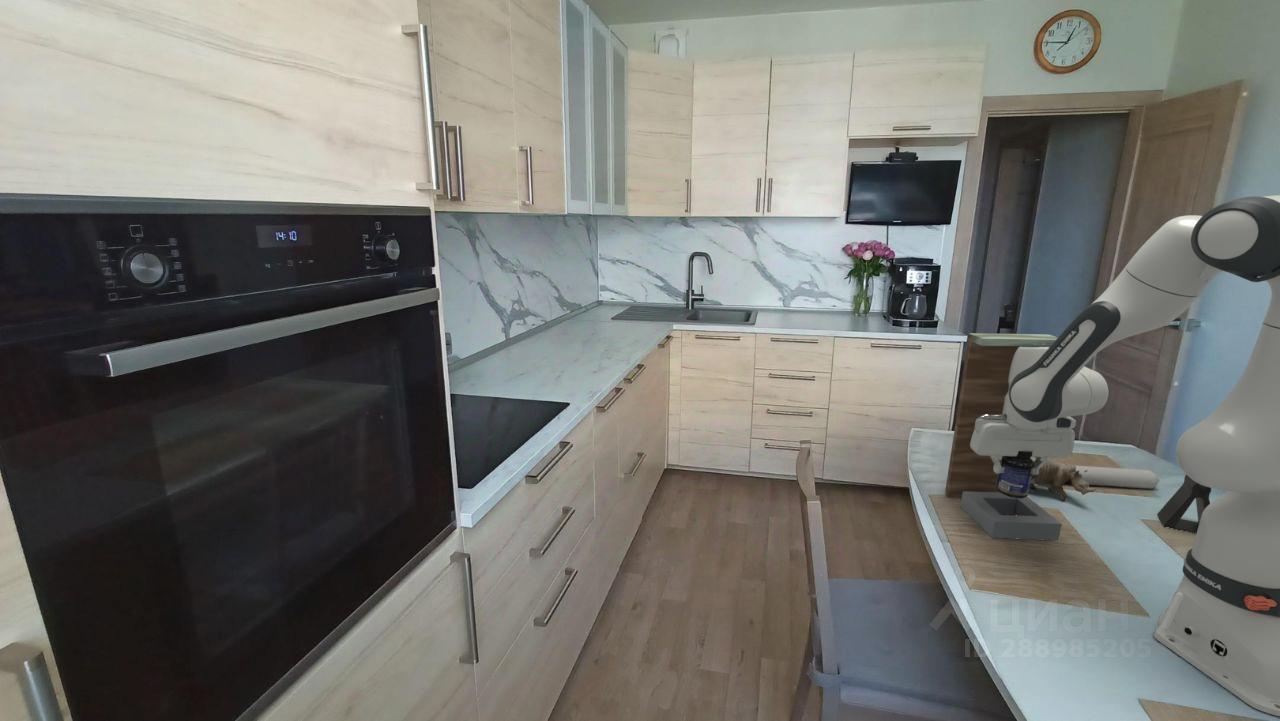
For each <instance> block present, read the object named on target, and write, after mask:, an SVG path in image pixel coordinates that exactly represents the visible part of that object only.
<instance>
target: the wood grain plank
mask: <svg viewBox="0 0 1280 721" xmlns="http://www.w3.org/2000/svg"><path fill="white" fill-rule="evenodd" d="M1058 337H1059V336H1058ZM1058 337H1057V336H1054V335H1052V334H1041V333H1040V334H1039V333H1038V334H1037V333H1032V334H1031V333H1030V334H1029V333H976V332H974V333H971V332H969V333H968V339H967V344H966V352H965V356H964V358H965V359H964V365H963V371H962V377H961V386H960V391H959V397H958V403H957V404H958V405H957V411H956V418H955V425H954V429H953V430H954V431H953V436H952V444H951V451H950V458H949V464H948V471H947V477H946V485H945V491H944V495H945V497H947V498H953V499H954V498H957V499H962V494H963V491H969V492H999V491H998V490H997V488H996V486H997V480H998V475H999V474H997V473H995V472H994V470H993V468H994V463H993V461H992V459H991V457H990V456H984V455H978V454H977V453H976V452H974V451H973V450H972V448H971V447H970V443H971V439H972V435H973V432H974V429H975V422H976V420H977V419H978V418H979V417H981V416H983V415H984V414H991V415H995V414H1002V412H1003V406H1004V400H1005V396H1006V394H1007V392H1008V390H1009V383H1008V378H1009V372H1010V367H1011V363H1012V360H1013V357H1014V354H1015V352H1016V350H1017V349H1018V348H1019V347H1020V346H1022V345H1025V344H1040V343H1048V344H1053V343H1054V342H1055V341H1056V339H1057V338H1058ZM1002 457H1003V456H1002ZM999 462H1000V464H1001V460H999Z"/></svg>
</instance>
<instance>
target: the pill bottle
mask: <svg viewBox="0 0 1280 721" xmlns="http://www.w3.org/2000/svg"><path fill="white" fill-rule="evenodd" d="M1032 453H1033V452H1032V451H1018V454H1017V456H1003V457H1002V460H1001V464H1002V465H1003V466H1004V467H1005V470H1004V474H999V475H998V480H997V486H996V488H997V490H998V491H999V492H1000V493H1002V494H1004V495H1006V496H1009V497H1012V498H1025V497H1029V491H1030V488H1029V487H1030V482H1031V478H1032V473H1033V468H1034V462H1033V460H1032V459H1031V458H1030V457H1032Z"/></svg>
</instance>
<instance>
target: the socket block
mask: <svg viewBox="0 0 1280 721" xmlns="http://www.w3.org/2000/svg"><path fill="white" fill-rule="evenodd" d="M960 508H962V510H963V511H964V512H965V513H966V514H967V515H968V516H969V517H970V518H972V519H973V521H974V522H975V523H976V524H977V525H979V527H980V528H981V529H982V530H983V531H984V532H985V533H986V534H987V535H988V536H989V537H990V539H1003V540H1004V538H1011V539H1010V540H1017V539H1016V538H1019V539H1018V540H1032V539H1040V540H1039V541H1041V539H1044V540H1043V541H1059V540H1060V535H1061V530H1062V525H1063V523H1061V522H1060V521H1059V520H1058V519H1056V518H1055V516H1052V515H1051V514H1050V513H1049V512H1048V511H1046V510H1045V509H1044V508H1043V507H1041V506H1040V505H1038V503H1036V502H1035V501H1034V500H1033V499H1031V498H1030V497H1029V496H1027V497H1025V498H1012V497H1009V496H1006V495H1004V494H1002V493H1000V492H969V491H963V494H962V498H961V500H960ZM1016 515H1017V516H1016Z"/></svg>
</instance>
